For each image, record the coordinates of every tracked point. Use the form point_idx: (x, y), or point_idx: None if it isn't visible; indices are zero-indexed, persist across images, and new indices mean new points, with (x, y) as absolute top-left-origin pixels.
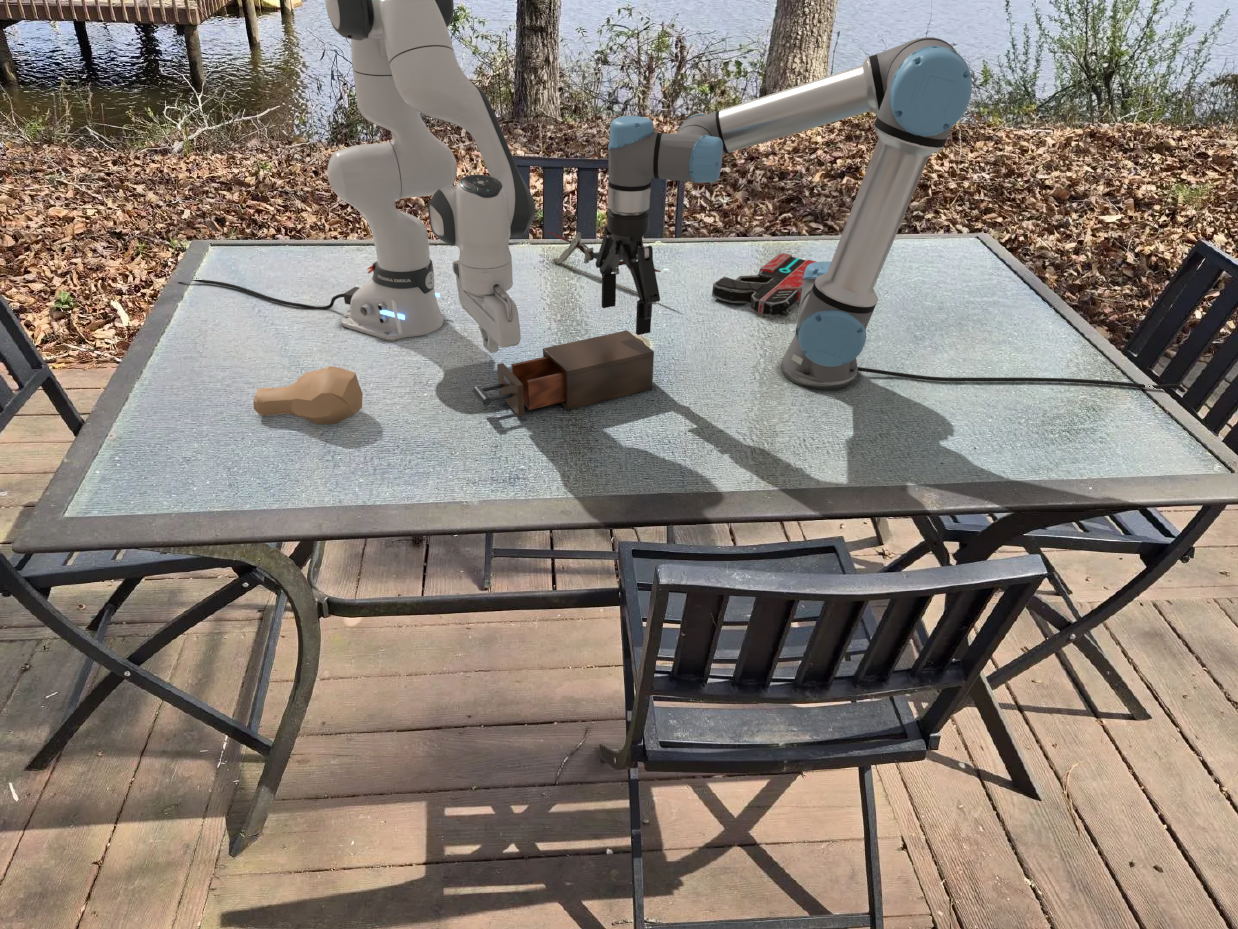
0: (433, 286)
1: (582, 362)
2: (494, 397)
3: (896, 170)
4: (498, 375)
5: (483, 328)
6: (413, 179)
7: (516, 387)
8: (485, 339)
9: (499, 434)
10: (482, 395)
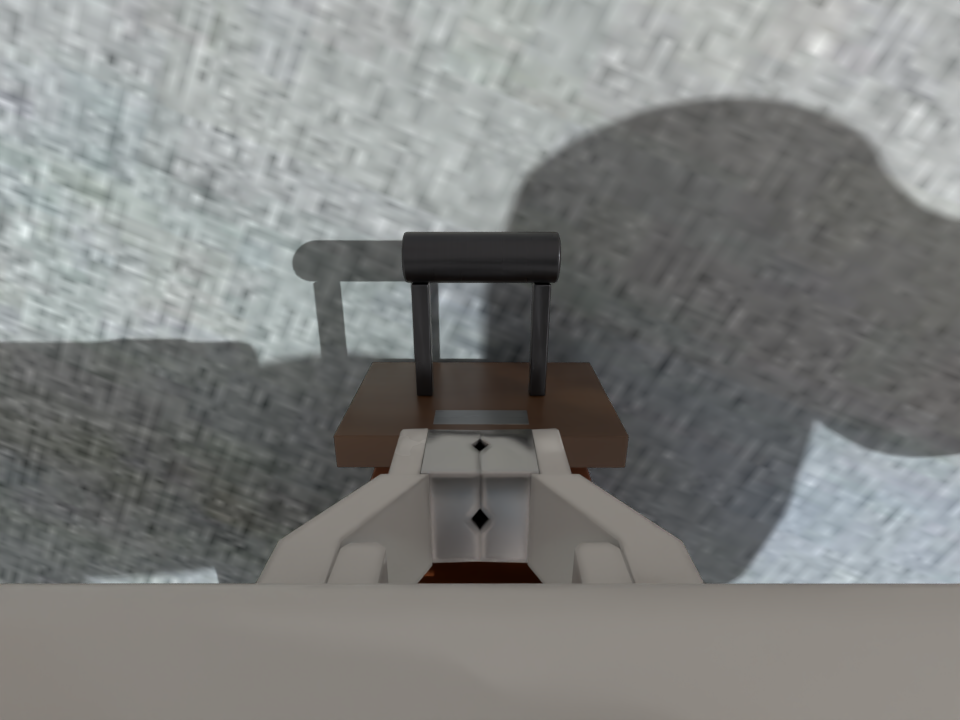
0: None
1: None
2: (424, 307)
3: None
4: (602, 404)
5: (291, 600)
6: None
7: (347, 428)
8: (520, 484)
9: (300, 242)
10: (445, 252)
